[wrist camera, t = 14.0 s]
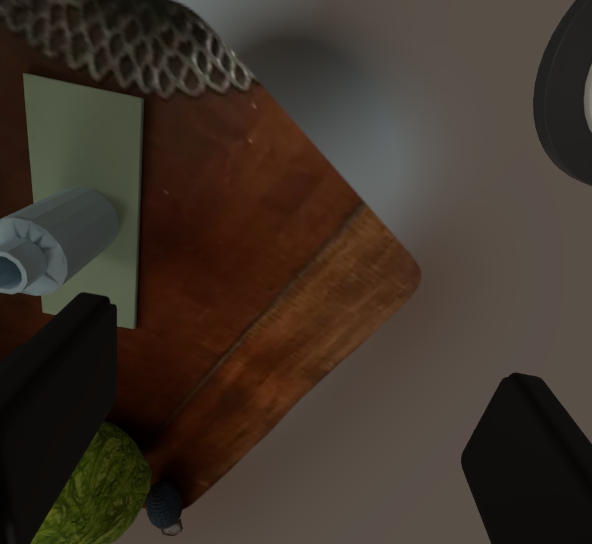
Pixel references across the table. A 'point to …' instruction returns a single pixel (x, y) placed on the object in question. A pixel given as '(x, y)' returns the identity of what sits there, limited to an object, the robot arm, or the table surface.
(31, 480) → the robot arm
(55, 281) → the bottle
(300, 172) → the table surface
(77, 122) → the mat
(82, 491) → the lettuce
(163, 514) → the hand grenade
